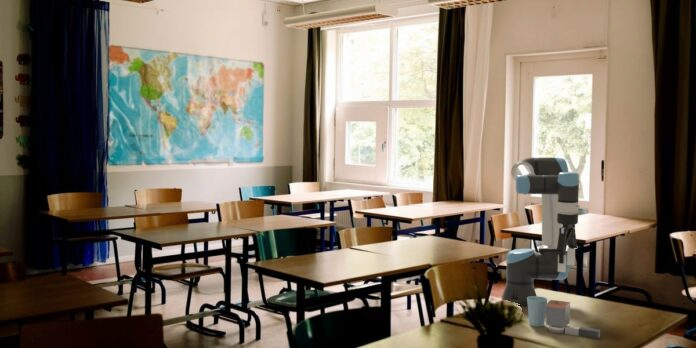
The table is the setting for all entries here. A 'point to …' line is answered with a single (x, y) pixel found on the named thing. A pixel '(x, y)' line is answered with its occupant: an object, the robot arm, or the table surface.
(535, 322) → the cup
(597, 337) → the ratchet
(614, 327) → the table surface
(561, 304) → the red-topped grey block
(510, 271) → the robot arm
